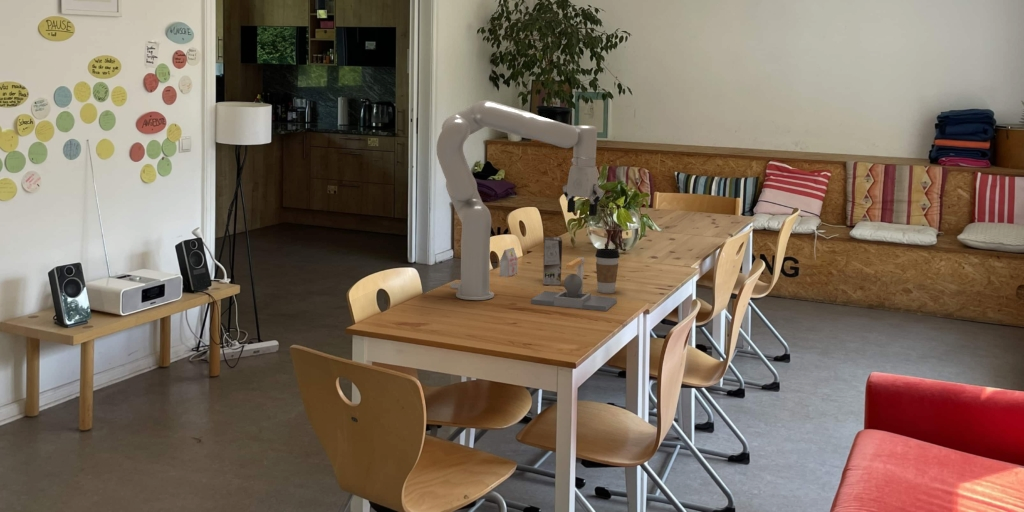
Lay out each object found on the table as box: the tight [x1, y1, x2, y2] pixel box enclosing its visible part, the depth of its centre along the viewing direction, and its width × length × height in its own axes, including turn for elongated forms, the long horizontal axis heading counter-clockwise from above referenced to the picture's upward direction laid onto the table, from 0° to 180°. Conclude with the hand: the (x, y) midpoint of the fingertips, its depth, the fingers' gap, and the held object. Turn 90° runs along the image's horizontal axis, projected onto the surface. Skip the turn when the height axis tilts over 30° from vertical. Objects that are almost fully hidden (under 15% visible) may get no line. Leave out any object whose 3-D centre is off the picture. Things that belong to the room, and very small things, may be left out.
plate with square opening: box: [530, 263, 618, 312], centre depth 309 cm, size 25×14×12 cm, turn 70°
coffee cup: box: [595, 247, 621, 294], centre depth 328 cm, size 8×8×15 cm
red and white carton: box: [499, 247, 519, 278], centre depth 354 cm, size 4×7×10 cm, turn 151°
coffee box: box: [542, 236, 563, 286], centre depth 341 cm, size 9×6×16 cm
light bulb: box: [563, 273, 582, 298], centre depth 307 cm, size 6×6×10 cm
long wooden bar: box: [565, 256, 585, 270], centre depth 308 cm, size 3×14×2 cm, turn 160°
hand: (581, 213), depth 318 cm, fingers open, 9 cm apart
